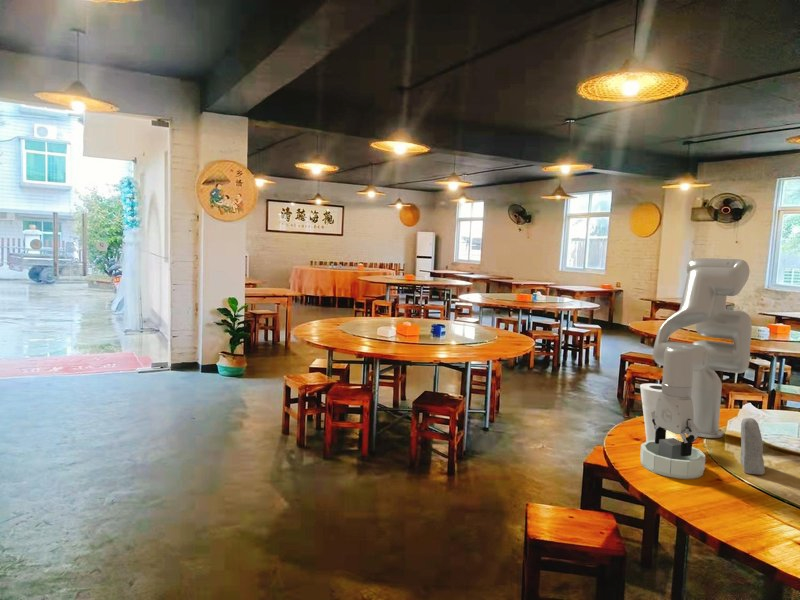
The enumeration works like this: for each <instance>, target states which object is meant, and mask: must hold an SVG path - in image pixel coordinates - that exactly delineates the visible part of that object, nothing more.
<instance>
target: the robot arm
mask: <svg viewBox="0 0 800 600" xmlns="http://www.w3.org/2000/svg"><path fill="white" fill-rule="evenodd" d="M686 273H687V276H686V280H685V283H684V288H683V293H682V298H681V301H680V306H679V308H678V309H679V310H677V311H676V312H675V313H673V314H671V315H670V316H669V317H668V318H666V319H665V321H664V322H663V323H662V324H661V325H660V327H659V328H658V330H657V332H656V337H655V341H654V346H653V350H652V351H653V352H652V358H653V361H654V362H655V363H656V364H657V365H659V366H661V367H663V368H662V369H663V370H662V382H661V383H660V384H661V386H662V392H660V393H659V396H658V400H657V405H656V411H653V412H651V416H652V422H653V424H654V429H655V430H656V433H655V443H656V444H659V439H667V438H666V435H667V434H666V433H667V431H669V432H670V433H673V434H676V435H679V436H680V437H681V439H682V441H681V453H680V455H681V456H691V453H692V447H693V443H695V441H696V440H698V437H700V438H706V439H720V438H722V437H724V434H725V433H724V431H723V430H722V429H721V428H720V427H719V425H720V416H721V414H720V413H721V404H722V403H721V402H722V401H721V400H722V390H723V389H722V387H723V385H722V380H721V378H720V377H719V375H718V374H717V372H716V371H719V372H727V373H734V374H743V373H746V372H747V370H748V369H749V366H750V359H751V356H750V355H751V346H752V345H751V344H752V343H751V341H752V329H753V327H752V326H753V324H752V319H751V316H750V315H749V314H748V312H745V311H742V310H741V311H740V310H730V309H727V297H735V296H738V295H739V294H740V293H741V291H742V290H743V288H744V286H745V285H746V284H747V282H748V280H749V275H750V266H749V264H748V262H747V261H746V260H744V259H741V258H740V259H739V258H738V259H737V258H736V259H735V258H714V257H713V258H708V257H706V258H705V257H702V258H701V257H699V258H694V259H691V260H689V261H688V262H687V265H686ZM692 325H695V331H696V333H697V334H698V336H699V335H700V336H702V337H707V338H713V339H721V340H722V339H723V340H730V341H731V342H733V343H731V342H725V341H724V342H722V341H715V340H714V341H713V340H707V339H706V340H703V339H701V340H700V339H699V340H696V341H694V342H692V343H687V342H679V341H671V340H669V338H670V337H671V336H672V335H673V334H674V333H675V332H677V331H678V330H682V329H683V328H687V327H689V326H692ZM665 429H666V430H665Z"/></svg>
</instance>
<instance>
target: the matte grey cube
mask: <svg viewBox="0 0 800 600" xmlns="http://www.w3.org/2000/svg"><path fill="white" fill-rule="evenodd" d="M681 442H682V441H681V440H678V439H677V438H675V437H672V438H671V437H669V438H666V439H659V451H658V455H659V456H663V457H666V458H670V459H678V460H686V456H681V455H680V453H681Z"/></svg>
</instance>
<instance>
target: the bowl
mask: <svg viewBox="0 0 800 600" xmlns="http://www.w3.org/2000/svg"><path fill="white" fill-rule="evenodd" d="M658 451H659V444H656V443H655V440H652V441H644V442H643V443H641V444H640V454H639V458H640V464H641V466H642V467H643V468H644V469H646V470H648V471H649V472H652V473H654V474H656V475H660V476H663V477H667V478H671V479H677V480H678V479H680V480H694V479H695V480H696V479H699V478H701V477H702V476H704V471H705V468H706V455H705V453H704V452H703V451H702V450H701V449H699V448H696V447H694V446H692V453H691V456H686V460H678V459H670V458H666V457H663V456H659V455H658Z"/></svg>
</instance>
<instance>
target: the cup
mask: <svg viewBox="0 0 800 600" xmlns="http://www.w3.org/2000/svg"><path fill="white" fill-rule="evenodd" d="M661 384H662V383H649V382H648V383H641V384H640V385H639V387H640V389H639V390H640V396H641V404H642V412H643V421H644V429H645V430H644V431H645V438H646V441H652V440H655V433H656V430H655V429H654V424H653V422H652V416H651V412H653V411H656V405H657V400H658V396H659V393H660V392H662V386H661ZM665 430H666V429H665ZM666 431H667V430H666ZM646 441H645V442H646Z"/></svg>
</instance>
